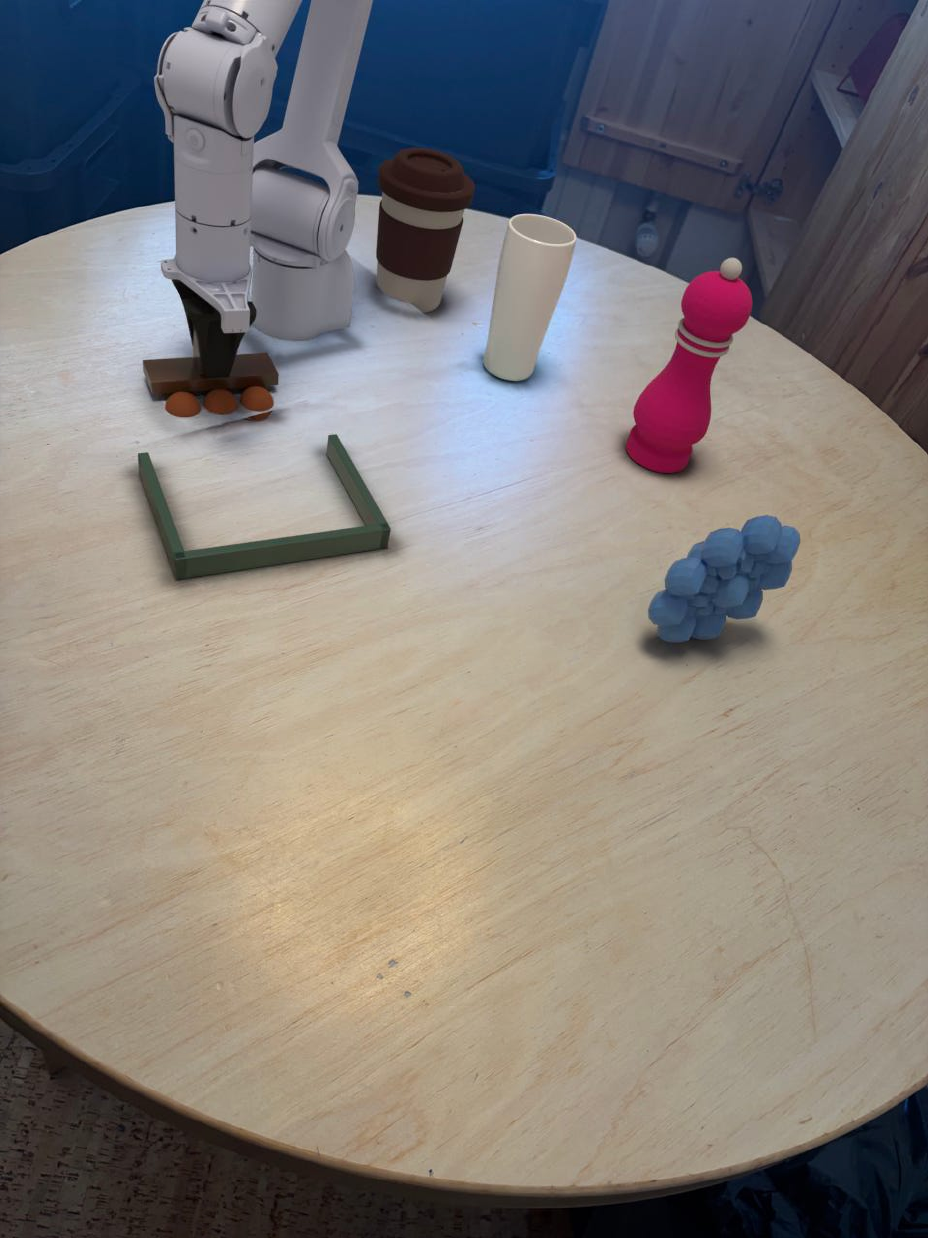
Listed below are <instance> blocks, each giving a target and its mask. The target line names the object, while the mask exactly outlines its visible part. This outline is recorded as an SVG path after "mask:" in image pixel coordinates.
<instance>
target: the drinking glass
mask: <svg viewBox="0 0 928 1238" xmlns="http://www.w3.org/2000/svg"><path fill="white" fill-rule="evenodd" d="M577 240H578V237H577V233H576V232H575V231H574V230H573V229H572V227H570V226H568V225H567V224H565V223H564V222H562V221H560V220H559V219H555V218H552V217H549V216H546V215H542V214H535V213H522V214H516V215H514V216H512V217H510V218H509V220H508V223H507V227H506V230H505V232H504V237H503V241H502V244H501V249H500V254H499V259H498V264H497V271H496V277H495V284H494V291H493V299H492V306H491V314H490V319H489V328H488V334H487V340H486V347H485V350H484V354H483V365H484V367H485V369H486V370H487V371H488V372H489V373H490V374H491V375H493V376H495V377H496V378H499V379H501V380H505V381H508V382H509V381H510V382H519V381H520V382H521V381H525V380H526V379H528V378H530V377H531V376H532V374H534V371H535V368H536V363H537V360H538V356H539V354H540V351H541V349H542V346H543V343H544V340H545V337H546V334H547V333H548V329H549V326H550V324H551V321H552V319H553V316H554V313H555V311H556V308H557V306H558V304H559V300H560V297H561V295H562V293H563V292H562V291H563V289H564V287H565V284H566V282H567V278H568V275H569V272H570V268H571V265H572V261H573V256H574V254H575V249H576V243H577Z"/></svg>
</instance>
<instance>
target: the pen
mask: <svg viewBox="0 0 928 1238" xmlns="http://www.w3.org/2000/svg"><path fill="white" fill-rule="evenodd" d="M325 453H326V456H327V458H328V459H329V461H330V463H331V465H332V467H333V468H334V470H335V472H336V474H337V476H338V478H339V480H340V481H341V483H342V485H343V487H344V488H345V490H346V492H347V494H348V496H349V498H350V499H351V501H352V503H353V505H354V507H355V509H356V510H357V512H358V514H359V516H360V518H361V519H362V521H363V523H364V525H362V526H354V527H348V528H341V529H334V530H333V529H332V530H325V531H320V532H319V531H318V532H311V533H305V534H297V535H290V536H284V537H283V536H282V537H276V538H270V539H269V538H268V539H261V540H255V541H247V542H240V543H233V544H226V545H219V546H213V547H212V546H211V547H204V548H198V549H197V548H196V549H190V550H185V549H184V547H183V544H182V541H181V539H180V536H179V533H178V530H177V528H176V525H175V523H174V520H173V517H172V514H171V511H170V508H169V506H168V503H167V501H166V498H165V494H164V492H163V489H162V487H161V484H160V480H159V478H158V476H157V473H156V470H155V467H154V465H153V462H152V459H151V456H150V454H149V452H148V451H147V452H138V453H137V464H138V475H139V477H140V481H141V483H142V487H143V489H144V492H145V494H146V495H145V496H146V498H147V500H148V504H149V506H150V509H151V512H152V514H153V518H154V521H155V523H156V526H157V529H158V533H159V535H160V537H161V541H162V544H163V547H164V549H165V550H164V551H165V552H166V555H167V559H168V561H169V564H170V567H171V570H172V572H173V575H174V578H175V580H176V581H177V580H184V579H190V578H191V579H192V578H198V577H202V576H209V575H210V576H211V575H217V574H222V573H230V572H236V571H242V570H249V569H256V568H262V567H269V566H276V565H282V564H283V565H284V564H289V563H295V562H301V561H308V560H315V559H320V558H321V559H322V558H326V557H327V558H328V557H335V556H341V555H348V554H354V553H361V552H367V551H374V550H375V551H376V550H380V549H387V548H388V547H389V541H390V536H391V531H392V528H391V526H390V525H389V523H388V521H387V520H386V517H385V516H384V514H383V512H382V511H381V509H380V507H379V506H378V504H377V502H376V500H375V498H374V497H373V495H372V493H371V492H370V490H369V488H368V486H367V484H366V482H365V481H364V479H363V478H362V476H361V474H360V473H359V471H358V469H357V467H356V465H355V464H354V462H353V460H352V458H351V456H350V455H349V453H348V451H347V450H346V448H345V446H344V444H343V443H342V441H341V439H340V438H339V435H337V433H335V434H328V436H327V444H326V452H325Z"/></svg>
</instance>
